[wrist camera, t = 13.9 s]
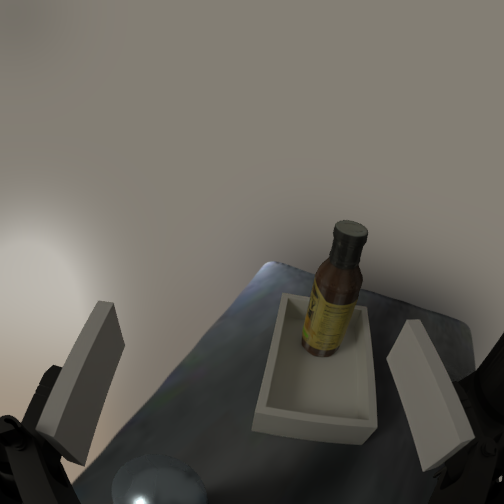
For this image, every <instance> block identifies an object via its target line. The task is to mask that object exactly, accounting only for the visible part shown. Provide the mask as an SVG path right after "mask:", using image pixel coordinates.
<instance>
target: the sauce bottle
mask: <svg viewBox="0 0 504 504" xmlns="http://www.w3.org/2000/svg"><path fill="white" fill-rule="evenodd" d="M333 236H334V240H333V245H332V249H331V251H330V254H329V255H330V256H329V258H328V259H327V260H326V261H324V262H323V263H322V264H321V265H320V267H319V268H318V270H317V272H316V274H315V279H314V283H313V288H312V292H311V296H310V300H309V305H308V308H307V313H306V317H305V321H304V325H303V329H302V346H303V347H304V349H305V350H306V351H307V352H309V353H310V354H311V355H313V356H316V357H329V356H332V355H333V354H334V353H335V352H336V351H337V350H338V348H339V347H340V344H341V343H342V340H343V338H344V335H345V333H346V330H347V327H348V325H349V322H350V319H351V316H352V314H353V311H354V308H355V305H356V302H357V299H358V296H359V291H360V288H361V285H362V281H363V277H362V274H361V272H360V268H359V265H358V264H359V262H360V256H361V252H362V249H363V246H364V244H365V243H366V241H367V236H368V230H367V229H366V228H365V227H364V226H363V225H362V224H359V223H357V222H354V221H349V220H343V221H339V222H337V223H336V224H335V227H334V232H333Z"/></svg>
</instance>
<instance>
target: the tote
mask: <svg viewBox="0 0 504 504" xmlns="http://www.w3.org/2000/svg"><path fill="white" fill-rule="evenodd" d="M309 300H310V297H304V296H298V295H293V294H287V293H282V298H281V302H280V307H279V311H278V316H277V321H276V325H275V330H274V334H273V339H272V343H271V347H270V352H269V356H268V360H267V365H266V369H265V373H264V377H263V381H262V385H261V390H260V394H259V398H258V402H257V406H256V410H255V414H254V419H253V424H252V430H251V431H256V432H261V433H266V434H271V435H277V436H283V437H289V438H296V439H303V440H311V441H320V442H329V443H340V444H354V445H362V444H363V443H364V442H365V441H366V440H367V439H368V438H369V437H370V435H371V434H372V433H373V432H374V431H375V430H376V429H377V405H376V389H375V375H374V364H373V353H372V344H371V335H370V327H369V319H368V312H367V307H364V306H357V305H355V308H354V311H353V314H352V316H351V319H350V322H349V325H348V327H347V330H346V333H345V335H344V338H343V340H342V343H341V344H340V347H339V348H338V350H337V351H336V352H335V353H334V354H333V355H332V356H329V357H316V356H313V355H311V354H310V353H309V352H307V351H306V350H305V349H304V347H303V346H302V329H303V325H304V321H305V317H306V313H307V308H308V305H309Z"/></svg>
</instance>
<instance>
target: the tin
mask: <svg viewBox="0 0 504 504" xmlns="http://www.w3.org/2000/svg"><path fill="white" fill-rule="evenodd" d="M112 498H113V502H114V504H209V502H208V498H207V494H206V490H205V487H204V484H203V482H202V480H201V478H200V477H199V476H198V474H197V473H196V472H195V471H194V470H193V469H192V468H191V467H190V466H189V465H187V464H186V463H184V462H182V461H180V460H178V459H176V458H173V457H170V456H166V455H159V454H149V455H143V456H139V457H136V458H134V459H132V460H130V461H128V462H127V463H126V464H124V465H123V466H122V467H121V468H120V469H119V471H118V472H117V473H116V475H115V477H114V480H113V483H112Z"/></svg>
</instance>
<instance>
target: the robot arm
mask: <svg viewBox="0 0 504 504" xmlns="http://www.w3.org/2000/svg"><path fill="white" fill-rule="evenodd" d="M124 347H125V344H124V340H123V337H122V333H121V330H120V326H119V323H118V318H117V314H116V311H115V307H114V303H111V302H105V301H98V302H97V304H96V306H95V307H94V309H93V311H92V313H91V314H90V316H89V318H88V320H87V322H86V324H85V325H84V327H83V329H82V331H81V333H80V335H79V336H78V338H77V341H76V342H75V344H74V346H73V348H72V350H71V352H70V354H69V356H68V358H67V360H66V362H65V364H64V366H63V367H59V366H56V365H53V366H51V367H50V368H49V369H48V370H47V371H46V372H45V373H44V375H43V377H42V379H41V381H40V383H39V386H38V387H37V389H36V393H35V394H34V395H33V398H32V400H31V402H30V404H29V406H28V409H27V411H26V413H25V416H24V418H23V420H22V422H21V423H20V422H19V421H18V420H17V419H16V418H15V417H13V416H10V415H5V416H2V417H0V504H81V503H80V501H79V499H78V497H77V495H76V493H75V491H74V489H73V487H72V485H71V483H70V481H69V479H68V477H67V474H66V472H65V470H64V468H63V465H62V464H61V462H60V459H61V456H63V457H64V458H65V459H66V460H67V461H70V462H73V463H76V464H78V465H81V466H85V463H86V460H87V456H88V452H89V449H90V446H91V442H92V439H93V436H94V433H95V429H96V426H97V423H98V420H99V417H100V414H101V410H102V408H103V405H104V402H105V399H106V396H107V393H108V390H109V387H110V385H111V381H112V379H113V376H114V373H115V371H116V368H117V365H118V363H119V360H120V357H121V355H122V352H123V350H124ZM386 359H387V362H388V364H389V367H390V370H391V373H392V375H393V378H394V381H395V384H396V387H397V389H398V392H399V395H400V398H401V401H402V404H403V407H404V410H405V413H406V416H407V419H408V422H409V426H410V429H411V432H412V435H413V439H414V442H415V445H416V449H417V452H418V456H419V459H420V463H421V467H422V470H423V472H424V471H427V470H430V469H434V468H437V467H438V466H440V465H441V464H442V463H444V462H445V464H446V466H445V467H444V468H442V469H441V470H439V471H438V472H437V473H435V475H434V476H433V478H435V477H437V476H438V475H440V474H441V475H440V477H439V478H438V482H437V485H436V487H435V489H434V491H433V494H432V496H431V498H430V500H429V502H428V504H504V333H503V334H502V336H501V337H500V339H499V340H498V342H497V343H496V344H495V346H494V347H493V349H492V350H491V352H490V353H489V354H488V356H487V357H486V358H485V360H484V361H483V362H482V364H481V365H480V366H479V368H478V369H477V370H476V371H475V372H473V373H472V374H470V375H468V376H467V377H465V378H464V379H462V380H460V381H459V382H457V381H454V382H451V380H450V378H449V376H448V373H447V371H446V369H445V367H444V365H443V363H442V361H441V359H440V357H439V355H438V353H437V351H436V349H435V347H434V345H433V343H432V342H431V340H430V338H429V336H428V334H427V332H426V330H425V328H424V327H423V325H422V323H421V321H420V320H407V321H406V323H405V325H404V327H403V329H402V331H401V333H400V334H399V336H398V338H397V340H396V342H395V344H394V346H393V348H392V349H391V351H390V353H389V355H388V357H387V358H386ZM500 476H502V481H501V482H499V477H500Z"/></svg>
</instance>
